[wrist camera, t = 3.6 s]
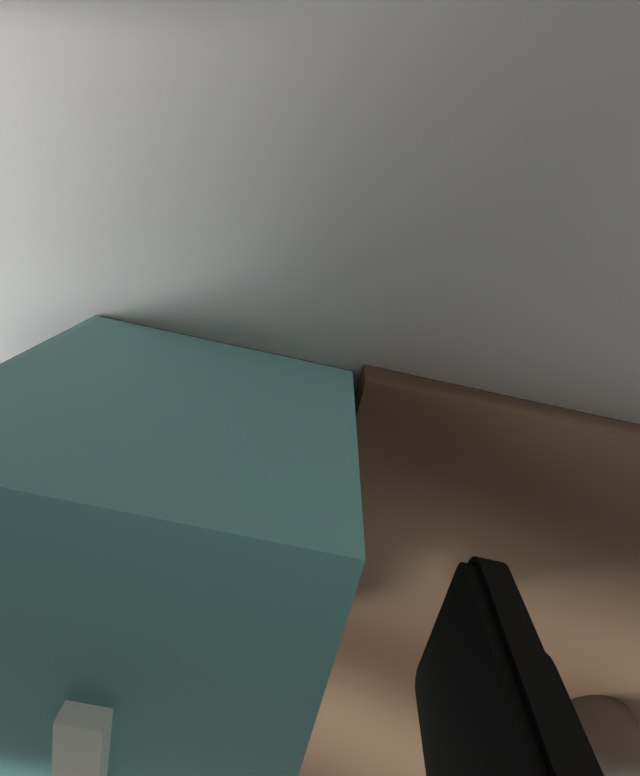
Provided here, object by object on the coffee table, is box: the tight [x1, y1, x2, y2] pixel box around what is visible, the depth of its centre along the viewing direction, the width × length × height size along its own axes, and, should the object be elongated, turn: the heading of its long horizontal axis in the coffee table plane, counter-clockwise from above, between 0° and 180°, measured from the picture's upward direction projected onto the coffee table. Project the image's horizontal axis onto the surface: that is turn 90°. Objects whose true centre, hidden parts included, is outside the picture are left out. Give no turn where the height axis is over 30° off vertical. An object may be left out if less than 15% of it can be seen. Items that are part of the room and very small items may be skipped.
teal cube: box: [0, 315, 366, 776], centre depth 9 cm, size 6×6×6 cm
